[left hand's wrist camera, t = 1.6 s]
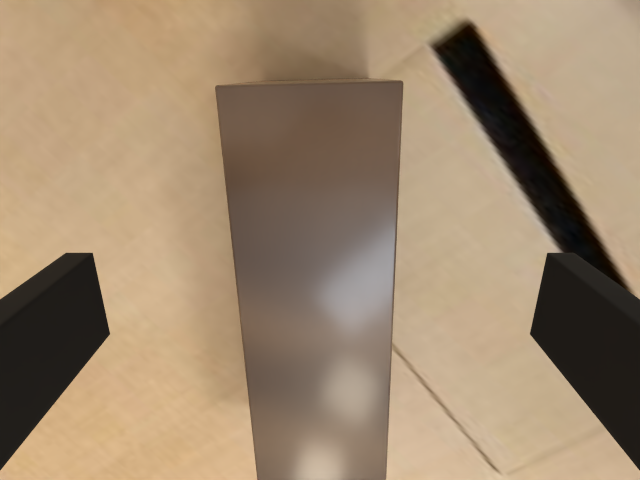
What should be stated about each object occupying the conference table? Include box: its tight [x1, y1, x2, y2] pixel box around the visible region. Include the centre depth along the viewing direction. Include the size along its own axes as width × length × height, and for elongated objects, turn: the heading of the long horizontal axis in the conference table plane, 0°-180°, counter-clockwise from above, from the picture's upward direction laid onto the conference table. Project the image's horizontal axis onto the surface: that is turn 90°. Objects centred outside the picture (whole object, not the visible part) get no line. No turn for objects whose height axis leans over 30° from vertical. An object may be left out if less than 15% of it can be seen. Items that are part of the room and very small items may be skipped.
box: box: [215, 78, 403, 480], centre depth 24 cm, size 24×6×11 cm, turn 1°
